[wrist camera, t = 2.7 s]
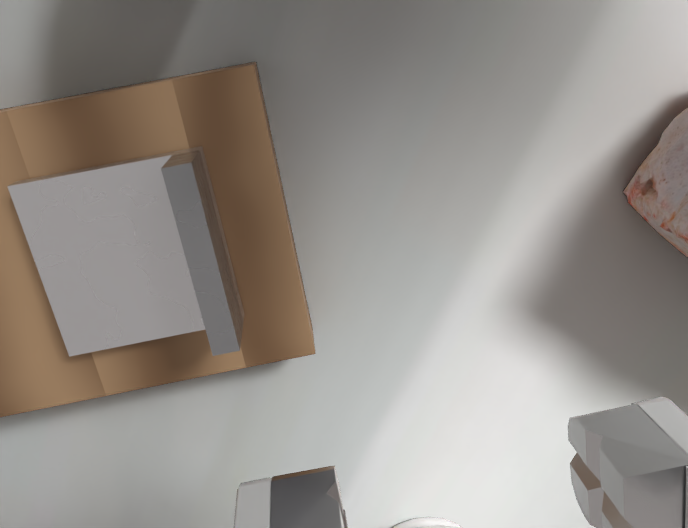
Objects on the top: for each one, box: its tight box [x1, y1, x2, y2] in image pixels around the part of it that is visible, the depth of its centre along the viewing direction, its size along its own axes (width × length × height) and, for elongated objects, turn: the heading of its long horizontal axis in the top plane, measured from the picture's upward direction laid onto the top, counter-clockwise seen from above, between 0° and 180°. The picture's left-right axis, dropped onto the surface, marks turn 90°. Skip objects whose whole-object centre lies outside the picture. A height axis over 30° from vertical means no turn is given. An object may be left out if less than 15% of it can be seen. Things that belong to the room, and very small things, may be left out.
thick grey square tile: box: [7, 146, 244, 357], centre depth 24 cm, size 7×7×3 cm
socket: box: [0, 62, 315, 417], centre depth 27 cm, size 18×12×3 cm, turn 100°
